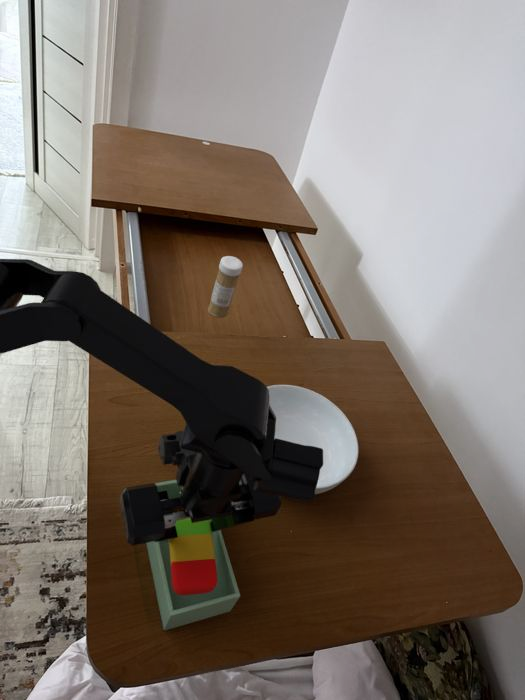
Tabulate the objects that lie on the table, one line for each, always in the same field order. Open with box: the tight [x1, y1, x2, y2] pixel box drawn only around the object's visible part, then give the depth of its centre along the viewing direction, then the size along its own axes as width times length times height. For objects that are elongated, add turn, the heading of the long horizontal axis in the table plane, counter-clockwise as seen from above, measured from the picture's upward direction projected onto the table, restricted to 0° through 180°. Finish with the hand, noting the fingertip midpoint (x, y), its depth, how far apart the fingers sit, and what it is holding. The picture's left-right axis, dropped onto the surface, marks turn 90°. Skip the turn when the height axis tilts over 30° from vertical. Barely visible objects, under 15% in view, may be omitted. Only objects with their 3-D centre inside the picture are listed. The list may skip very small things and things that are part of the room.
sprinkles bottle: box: [207, 255, 244, 319], centre depth 105 cm, size 5×5×13 cm
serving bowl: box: [266, 384, 359, 495], centre depth 86 cm, size 21×21×7 cm
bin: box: [145, 479, 241, 632], centre depth 69 cm, size 18×9×6 cm, turn 20°
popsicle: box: [169, 488, 217, 595], centre depth 66 cm, size 6×15×2 cm, turn 12°
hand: (190, 533), depth 66 cm, fingers closed on popsicle, 6 cm apart
